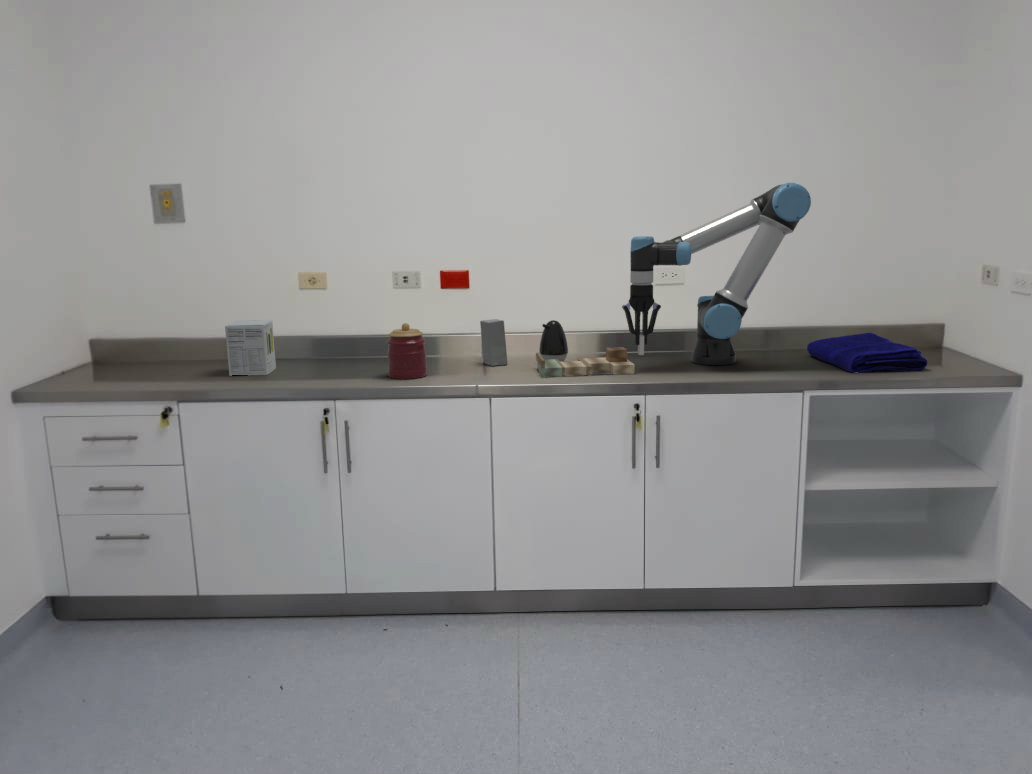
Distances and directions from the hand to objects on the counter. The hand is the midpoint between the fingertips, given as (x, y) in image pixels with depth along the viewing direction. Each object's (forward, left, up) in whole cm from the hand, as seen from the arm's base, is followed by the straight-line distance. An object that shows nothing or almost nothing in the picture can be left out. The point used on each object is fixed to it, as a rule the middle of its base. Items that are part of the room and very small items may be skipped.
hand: (640, 354), depth 277 cm
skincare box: (+48, -20, -5) cm, 52 cm away
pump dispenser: (+27, -18, -5) cm, 33 cm away
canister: (+78, -4, -5) cm, 78 cm away
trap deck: (+19, 0, -5) cm, 20 cm away
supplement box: (+132, -22, -5) cm, 134 cm away
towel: (-76, +5, -6) cm, 76 cm away
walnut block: (+8, -1, -2) cm, 8 cm away
